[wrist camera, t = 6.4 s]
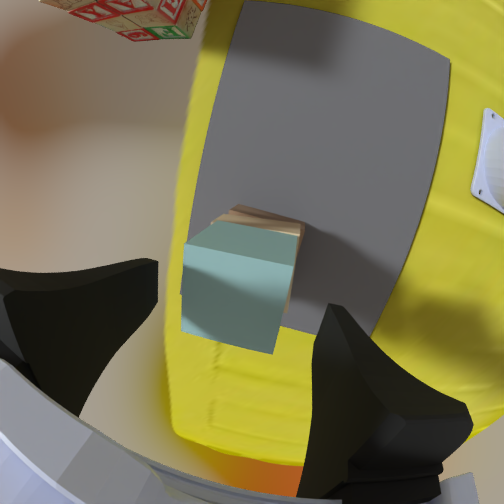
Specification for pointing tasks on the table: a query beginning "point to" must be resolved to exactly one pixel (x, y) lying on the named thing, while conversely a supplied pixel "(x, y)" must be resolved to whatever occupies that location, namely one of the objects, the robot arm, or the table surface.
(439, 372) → the table surface
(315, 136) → the rubber mat
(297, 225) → the oak slab
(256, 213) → the walnut slab
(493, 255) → the table surface
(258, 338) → the teal cube
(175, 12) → the stack of blocks
